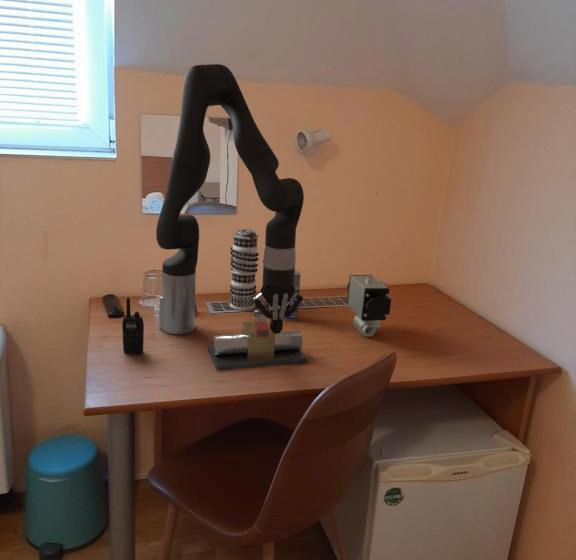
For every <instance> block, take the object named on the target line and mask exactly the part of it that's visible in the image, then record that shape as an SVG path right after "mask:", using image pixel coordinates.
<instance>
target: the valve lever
mask: <svg viewBox="0 0 576 560" xmlns="http://www.w3.org/2000/svg"><path fill="white" fill-rule="evenodd" d="M253 319H254V320H255V319H256V323H255V332H256V337H264V338H269V326H268V322H269V321H268V322H265V321H266V317H265V315H264V314H263V313H262V312H261V311H260V309H259V308H253Z"/></svg>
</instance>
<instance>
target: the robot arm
mask: <svg viewBox="0 0 576 560" xmlns="http://www.w3.org/2000/svg"><path fill="white" fill-rule="evenodd" d="M215 106H220V107H221V108H222V109H223V110H224V112H225V113H226V114H227V115H228V117H229V119H230V121H231V125H232V130H233V140H234V146H235V150H236V152H237V154H238V157H239V158H240V159H241V161H242V163H243V164H244V166H245V167H246V168H247V171H249V173H250V174H251V177H252V181H253V184H254V187H255V190H256V193H257V196H258V198H259V200H260V202H261V203H262V205H263V206H264V207H265V208H266V209H267V210H269V211H271V212H275V214H274V217H272V218H271V220H269V221H268V222H267V223H266V227H265V239H264V241H265V242H264V251H263V259H262V264H263V265H262V268H263V269H262V286H261V288H260V293H258V294H257V295H256V297H255V296H253V297H252V301H253V302H254V303H255V307H256V306H257V309H260V311H261V312H262V313H263V314H264V315H265V319H269V323H270V330H271V331H272V332H273V333H274V334H278V333H280V332H283V328H284V327H283V326H284V324H283V323H284V319H283V318H284V317H286V316H290V315H291V314H292V313H293V312H294V310H295V309H296V308H297V307H298V308H299V305H300V304H301V303H302V302H303V301H304V297H303V296H302V294H301V293H300V292H299V293H296V292H295V287H294V278H295V271H296V257H297V256H296V235H297V234H296V233H297V226H298V223H299V221H300V217H301V213H302V210H303V205H304V198H305V197H304V189H303V186H302V184H301V182H300V181H298V180H297V179H296V178H292V177H286V178H281V179H280V177H279V176H278V174H277V172H276V171H277V170H278V169H279V165H280V163H279V160H278V158H277V156H276V154H275V152H274V151H273V149H272V148H271V146H270V145H269V143H268V142H267V140H266V139H265V138H264V136H263V134H262V133H261V132H260V129H259V127H258V126H257V124H256V121H255V119H254V117H253V115H252V113H251V110H250V109H249V106H248V104H247V102H246V99H245V97H244V95H243V92H242V90H241V88H240V86H239V83H238V82H237V79H236V78H235V76H234V74H233V71H231V69H230V68H229V67H227V66H226V65H223V64H218V63H214V64H213V63H212V64H211V63H210V64H209V63H206V64H196V65H193V66H190V68H189V69H188V70H187V71H186V73H185V76H184V80H183V85H182V94H181V106H180V116H179V124H178V131H177V135H176V136H177V137H176V142H175V146H174V150H173V156H172V160H171V166H170V173H169V177H168V182H167V188H166V192H165V196H164V200H163V203H162V207H161V210H160V213H159V217H158V220H157V224H156V230H155V232H156V234H155V236H156V237H155V238H156V242H157V245H158V246H159V247H160V248H161V249H163V250H167V251H169V250H178V251H177V252H176V253H175V254H174V255H173V256H170V257H169V258H167V259H165V260H164V261H163V263H162V271H161V272H162V280H161V281H162V282H161V283H162V285H161V286H162V289H161V290H162V293H161V296H160V297H159V298H158V300H159V302H158V305H159V306H158V307H159V311H158V312H159V313H158V315H159V316H158V320H159V322H158V323H159V324H158V325H159V327H158V328H159V329H160V330H162V331H163V332H165V333H166V334H171V335H186V334H189V333H191V332H193V331H194V330H195V325H196V324H195V323H196V322H195V320H196V318H195V317H196V280H197V278H196V274H197V265H198V256H199V255H198V254H199V244H200V226H199V223H198V219H197V218H196V217H195V216H194V215H193V214H181V212H182V210H183V208H184V207H185V206H186V204H188V202H189V201H190V200H191V199H192V198H193V196H195V195H196V194H197V193H198V191H199V190H200V189H201V187H202V186H204V183H205V182H206V179H207V176H208V172H209V167H210V164H211V157H212V156H211V150H210V146H209V144H208V141H207V139H206V136H205V131H204V125H205V124H204V123H205V119H206V114H207V111H208V108H209V107H215ZM291 297H292V298H291ZM290 299H291V301H290V302H289V300H290ZM264 300H265V301H266V303H267V304H268V308H269V309H268V310H269V311H268V310H267V309H266V307H265V306H264V305H263V303H264ZM288 302H289V303H288ZM287 303H288V305H287ZM286 305H287V306H286Z"/></svg>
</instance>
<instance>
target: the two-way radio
mask: <svg viewBox="0 0 576 560" xmlns="http://www.w3.org/2000/svg"><path fill="white" fill-rule="evenodd" d="M130 299H131V298H130V297H126V311H125V312H126V315H125V316H123V318H122V319H123V320H122V321H121V325H122V327H121V328H122V347H123V348H122V350H123V352H124V353H126V354H136V355H137V354H138V355H139V354H142V353H143V352H144V342H145V341H144V338H145V337H144V334H145V333H144V331H145V326H144V325H145V323H144V320H143V317H142V316H141V315H140V313H139V311H135V312H134V314H131V300H130Z"/></svg>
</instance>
